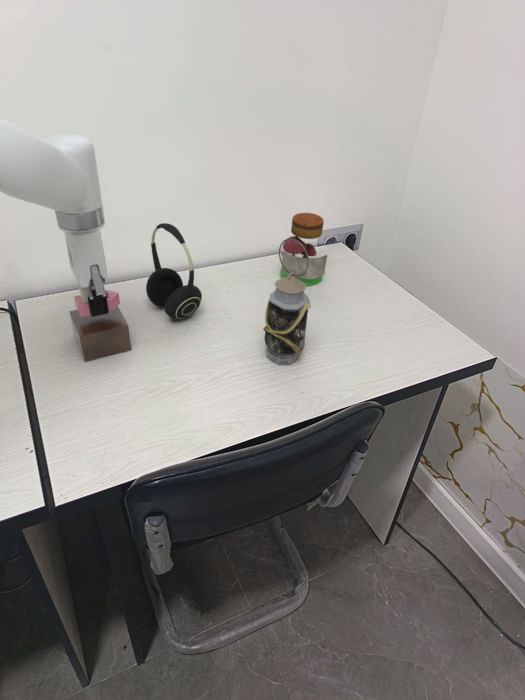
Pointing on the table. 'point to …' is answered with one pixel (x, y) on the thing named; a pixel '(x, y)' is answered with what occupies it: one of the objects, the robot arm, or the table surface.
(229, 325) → the table surface
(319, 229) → the brown red grey stack
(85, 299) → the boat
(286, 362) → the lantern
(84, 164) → the robot arm
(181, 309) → the headphones
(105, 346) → the block
